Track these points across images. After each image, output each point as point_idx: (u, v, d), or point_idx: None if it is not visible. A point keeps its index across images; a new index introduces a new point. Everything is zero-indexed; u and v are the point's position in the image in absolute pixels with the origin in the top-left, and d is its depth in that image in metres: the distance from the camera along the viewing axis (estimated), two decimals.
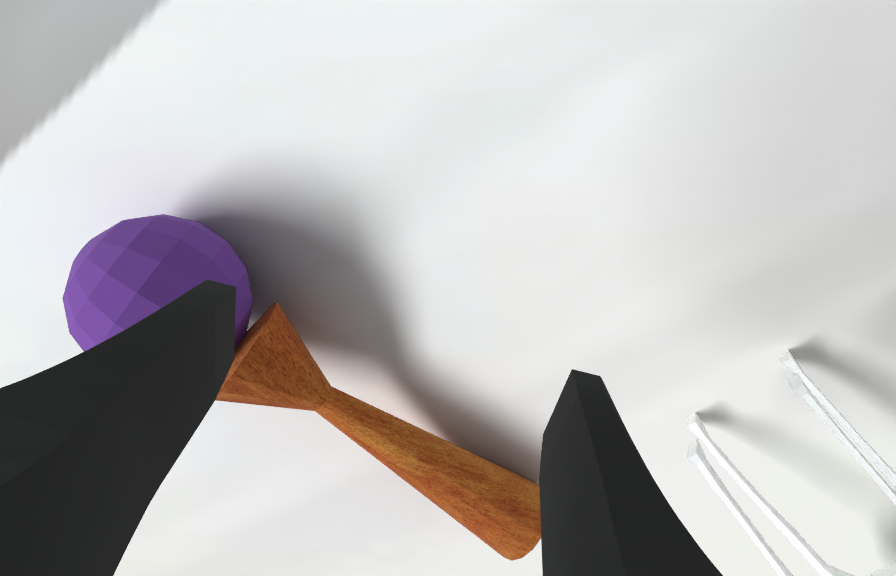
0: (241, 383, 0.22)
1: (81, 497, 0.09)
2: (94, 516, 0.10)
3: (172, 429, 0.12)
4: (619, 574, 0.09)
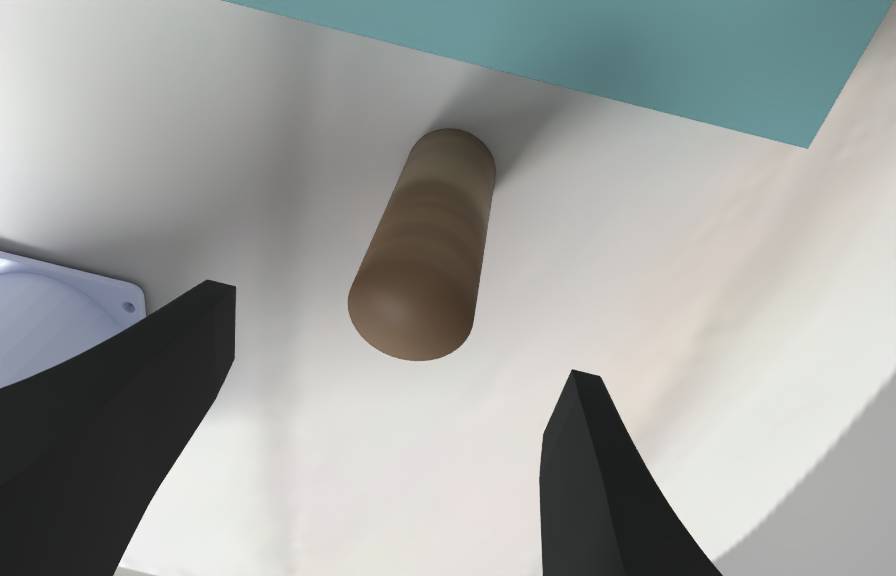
0: None
1: (81, 497, 0.09)
2: (94, 516, 0.10)
3: (172, 429, 0.12)
4: (619, 574, 0.09)
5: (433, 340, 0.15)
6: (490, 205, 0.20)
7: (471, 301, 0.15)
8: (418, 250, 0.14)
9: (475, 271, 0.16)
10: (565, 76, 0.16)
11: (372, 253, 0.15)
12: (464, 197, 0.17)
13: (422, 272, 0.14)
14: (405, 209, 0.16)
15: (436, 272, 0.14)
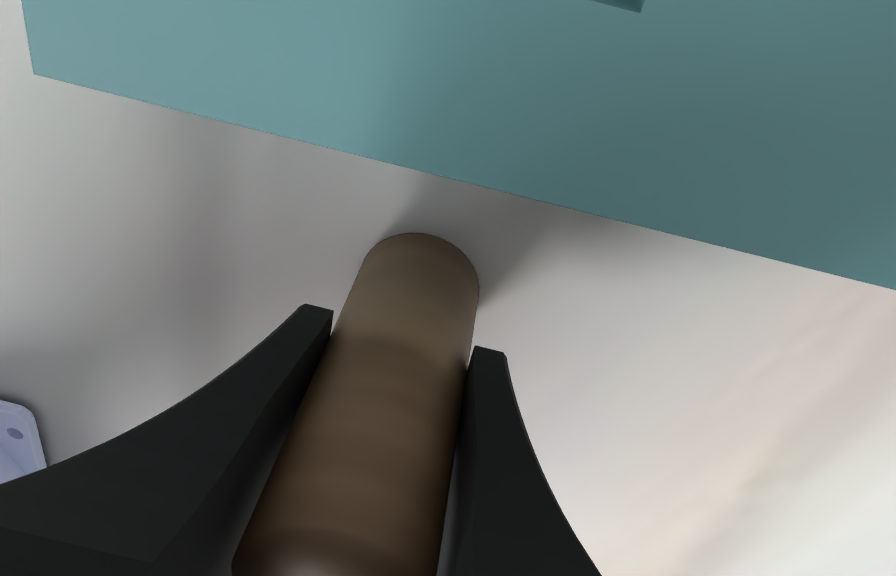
0: None
1: (222, 531, 0.09)
2: (226, 548, 0.10)
3: None
4: (470, 538, 0.08)
5: None
6: (469, 350, 0.14)
7: None
8: (339, 507, 0.09)
9: (437, 511, 0.10)
10: (578, 195, 0.11)
11: (270, 495, 0.09)
12: (427, 366, 0.12)
13: (343, 546, 0.09)
14: (333, 400, 0.11)
15: (368, 548, 0.09)
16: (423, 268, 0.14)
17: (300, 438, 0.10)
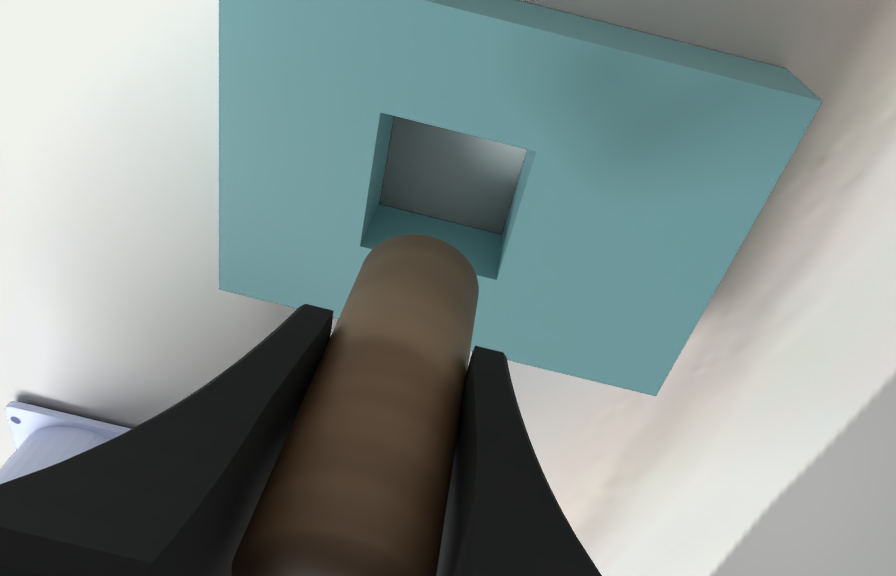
0: None
1: (222, 531, 0.09)
2: (226, 548, 0.10)
3: None
4: (470, 538, 0.08)
5: None
6: (469, 352, 0.14)
7: None
8: (339, 509, 0.09)
9: (437, 512, 0.10)
10: None
11: (270, 497, 0.09)
12: (426, 368, 0.12)
13: (343, 549, 0.09)
14: (333, 403, 0.11)
15: (367, 550, 0.09)
16: (423, 269, 0.14)
17: (300, 440, 0.10)
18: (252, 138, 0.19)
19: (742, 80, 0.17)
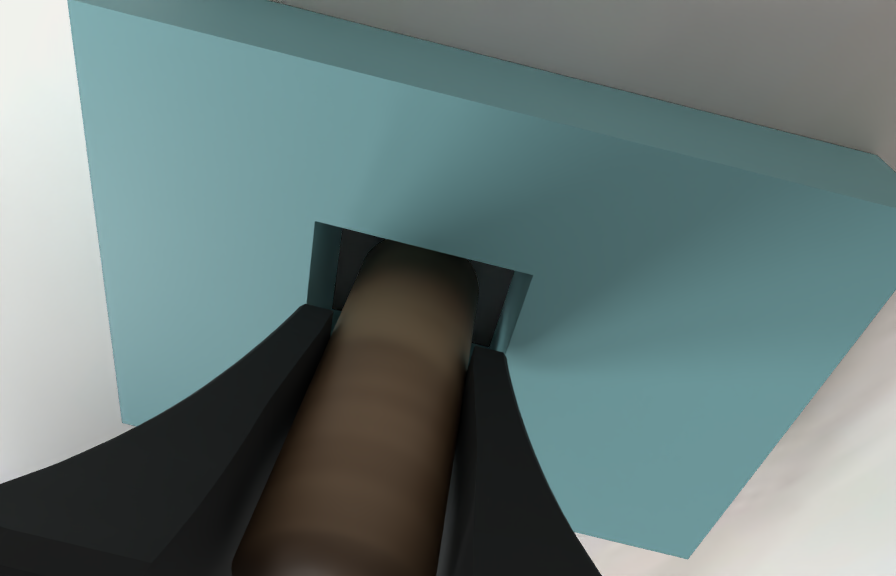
0: None
1: (222, 531, 0.09)
2: (226, 548, 0.10)
3: None
4: (470, 538, 0.08)
5: None
6: (469, 351, 0.14)
7: None
8: (338, 509, 0.09)
9: (437, 512, 0.10)
10: None
11: (270, 497, 0.09)
12: (426, 367, 0.12)
13: (343, 549, 0.09)
14: (333, 402, 0.11)
15: (367, 550, 0.09)
16: (423, 269, 0.14)
17: (300, 440, 0.10)
18: (144, 249, 0.14)
19: (832, 190, 0.11)
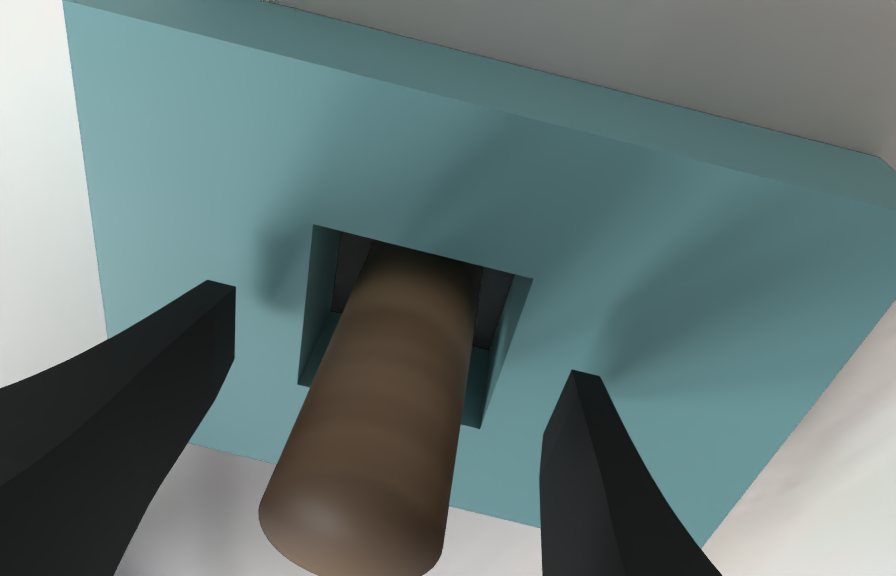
0: None
1: (81, 497, 0.09)
2: (94, 516, 0.10)
3: (172, 429, 0.12)
4: (619, 574, 0.09)
5: (386, 565, 0.11)
6: (474, 323, 0.15)
7: (438, 524, 0.10)
8: (359, 454, 0.10)
9: (447, 462, 0.11)
10: (457, 502, 0.17)
11: (294, 446, 0.10)
12: (435, 334, 0.12)
13: (363, 489, 0.10)
14: (349, 363, 0.11)
15: (385, 489, 0.10)
16: None
17: (320, 396, 0.11)
18: (141, 252, 0.14)
19: (835, 193, 0.11)
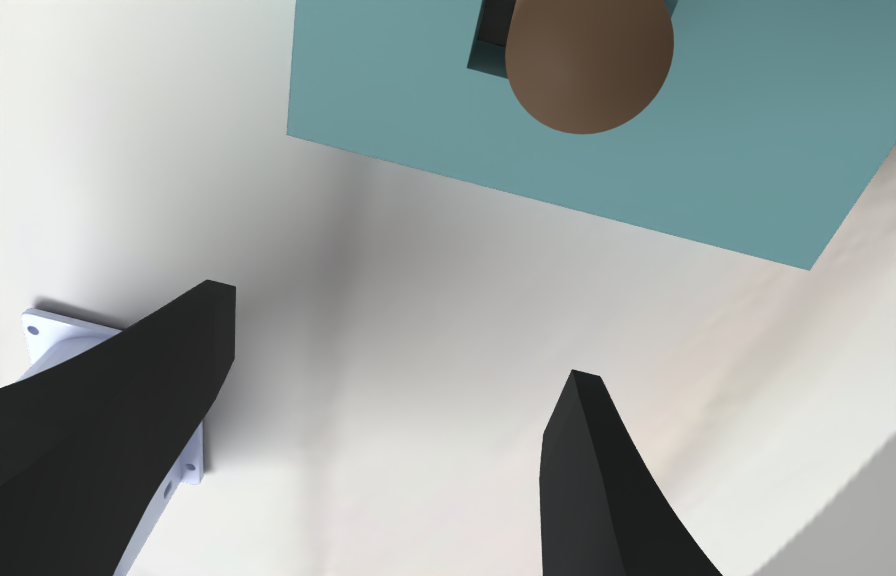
0: None
1: (81, 497, 0.09)
2: (94, 516, 0.10)
3: (172, 429, 0.12)
4: (619, 574, 0.09)
5: (611, 100, 0.12)
6: None
7: (672, 34, 0.11)
8: None
9: None
10: (597, 207, 0.19)
11: None
12: None
13: None
14: None
15: None
16: None
17: None
18: None
19: None
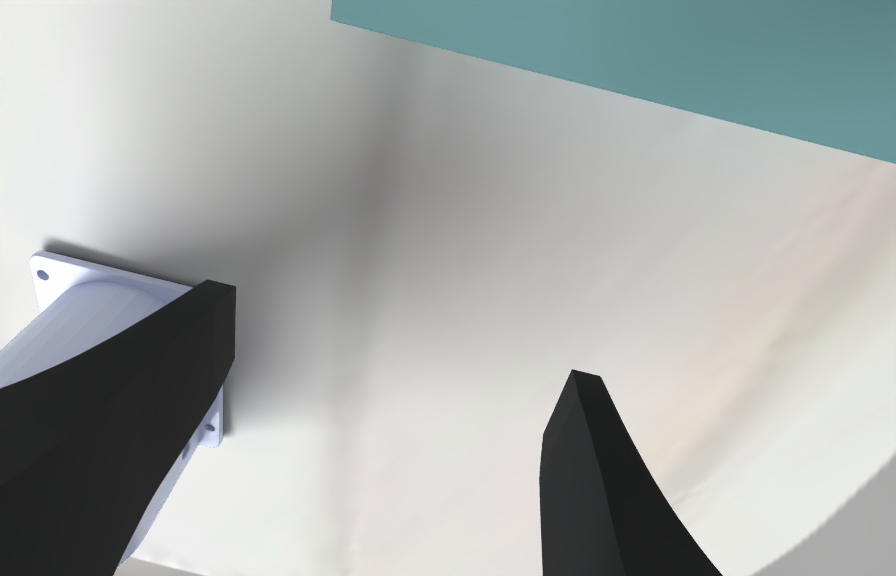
0: None
1: (81, 497, 0.09)
2: (94, 516, 0.10)
3: (172, 429, 0.12)
4: (619, 574, 0.09)
5: None
6: None
7: None
8: None
9: None
10: (676, 97, 0.17)
11: None
12: None
13: None
14: None
15: None
16: None
17: None
18: None
19: None
